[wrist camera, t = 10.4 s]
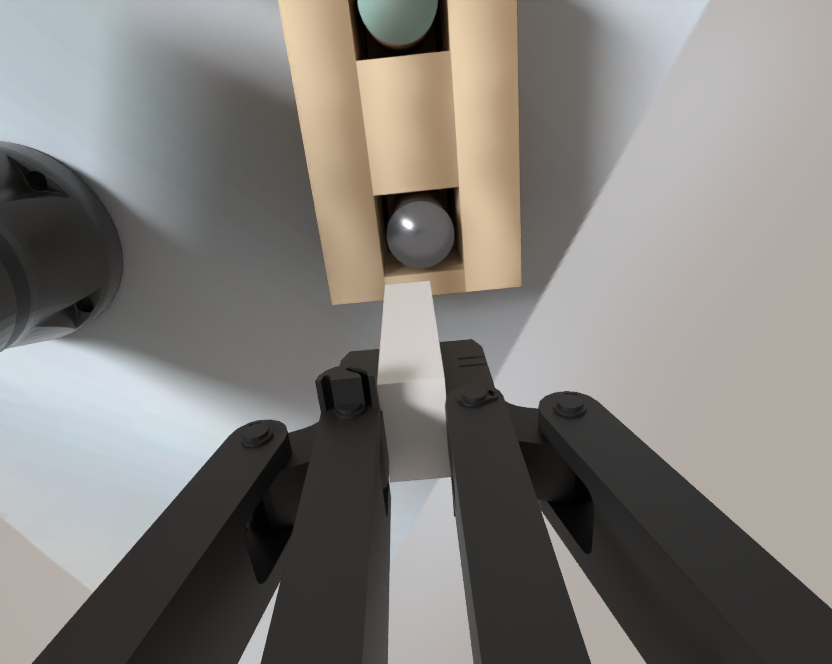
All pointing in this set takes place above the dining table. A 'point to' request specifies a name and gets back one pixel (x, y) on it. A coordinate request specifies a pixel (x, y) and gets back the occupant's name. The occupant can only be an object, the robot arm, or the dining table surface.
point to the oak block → (410, 141)
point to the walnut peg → (398, 23)
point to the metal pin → (419, 229)
